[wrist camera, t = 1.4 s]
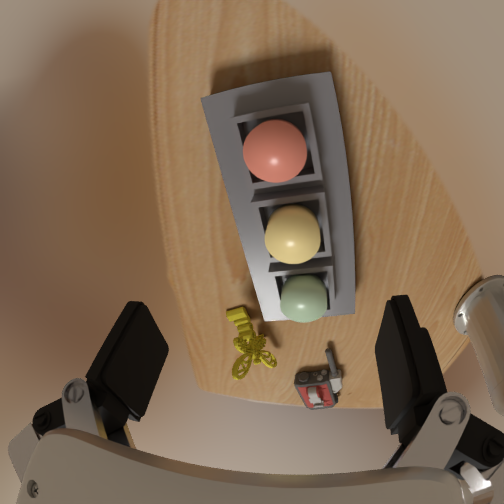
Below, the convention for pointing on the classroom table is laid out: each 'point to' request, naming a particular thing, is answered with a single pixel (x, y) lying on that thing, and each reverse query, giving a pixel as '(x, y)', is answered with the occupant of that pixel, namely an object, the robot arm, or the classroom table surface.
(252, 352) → the decorative insect
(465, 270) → the classroom table surface
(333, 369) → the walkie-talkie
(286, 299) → the sage button
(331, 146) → the button panel
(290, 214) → the mustard button
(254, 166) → the red button
